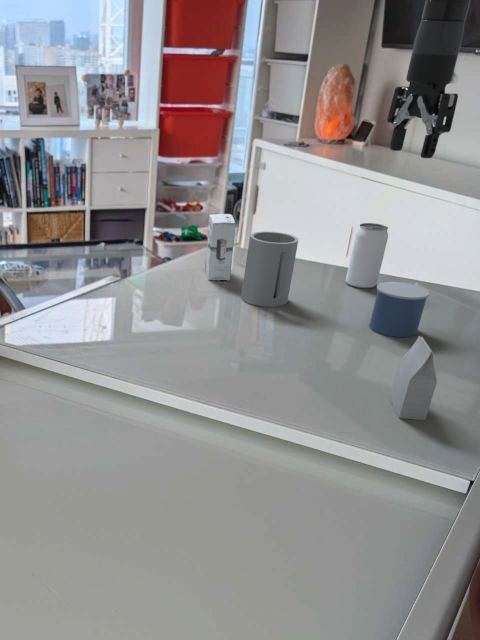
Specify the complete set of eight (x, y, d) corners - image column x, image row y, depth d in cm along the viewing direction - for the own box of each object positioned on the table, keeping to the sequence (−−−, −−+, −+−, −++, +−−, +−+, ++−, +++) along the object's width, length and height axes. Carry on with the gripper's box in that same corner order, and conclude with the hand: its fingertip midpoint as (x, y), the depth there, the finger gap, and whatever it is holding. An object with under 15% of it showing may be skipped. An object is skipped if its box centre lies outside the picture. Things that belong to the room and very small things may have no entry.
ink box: (203, 268, 168) (209, 212, 162) (225, 269, 168) (233, 213, 162) (206, 280, 161) (213, 222, 154) (230, 281, 161) (238, 223, 154)
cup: (259, 289, 157) (269, 229, 151) (296, 300, 152) (307, 239, 145) (232, 297, 152) (240, 235, 145) (268, 309, 147) (279, 246, 140)
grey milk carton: (398, 418, 109) (417, 352, 103) (389, 398, 114) (406, 334, 109) (425, 420, 109) (445, 354, 103) (414, 400, 114) (433, 336, 109)
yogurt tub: (397, 318, 145) (407, 280, 141) (429, 335, 138) (440, 295, 134) (357, 322, 142) (366, 283, 138) (388, 340, 135) (398, 299, 131)
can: (340, 279, 165) (352, 222, 158) (368, 279, 166) (382, 222, 159) (352, 289, 160) (365, 230, 153) (381, 289, 160) (395, 230, 154)
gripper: (482, 54, 127) (453, 160, 136) (425, 49, 138) (402, 147, 147) (446, 53, 124) (419, 161, 133) (391, 48, 135) (369, 148, 144)
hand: (410, 154), depth 140 cm, fingers open, 8 cm apart
